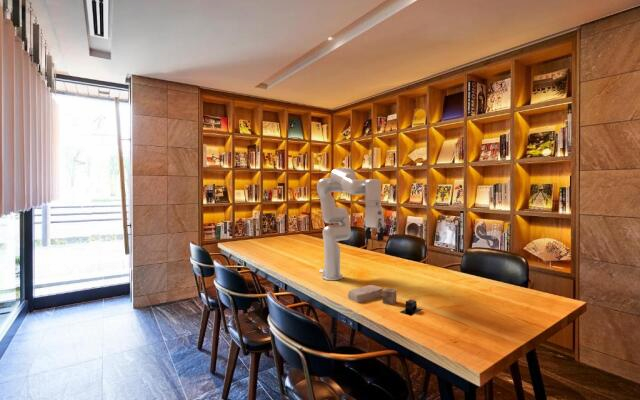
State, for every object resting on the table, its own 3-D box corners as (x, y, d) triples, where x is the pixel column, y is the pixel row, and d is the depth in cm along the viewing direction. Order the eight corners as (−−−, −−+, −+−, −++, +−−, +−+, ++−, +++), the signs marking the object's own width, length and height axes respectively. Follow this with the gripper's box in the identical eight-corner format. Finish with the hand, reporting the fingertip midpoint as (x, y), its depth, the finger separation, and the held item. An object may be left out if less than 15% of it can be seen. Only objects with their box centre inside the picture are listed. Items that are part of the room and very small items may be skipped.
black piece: (411, 305, 152) (411, 295, 152) (426, 310, 147) (426, 299, 146) (395, 313, 143) (395, 302, 143) (411, 318, 137) (411, 307, 137)
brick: (357, 303, 155) (357, 294, 154) (347, 298, 162) (347, 289, 161) (383, 297, 164) (383, 288, 163) (372, 292, 171) (372, 283, 170)
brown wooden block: (382, 303, 154) (382, 290, 154) (386, 299, 159) (386, 287, 158) (392, 305, 152) (392, 292, 152) (396, 301, 156) (396, 289, 156)
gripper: (390, 204, 153) (391, 240, 153) (369, 204, 169) (370, 237, 169) (377, 204, 150) (378, 242, 150) (357, 204, 165) (358, 238, 166)
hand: (374, 239), depth 159 cm, fingers open, 9 cm apart
